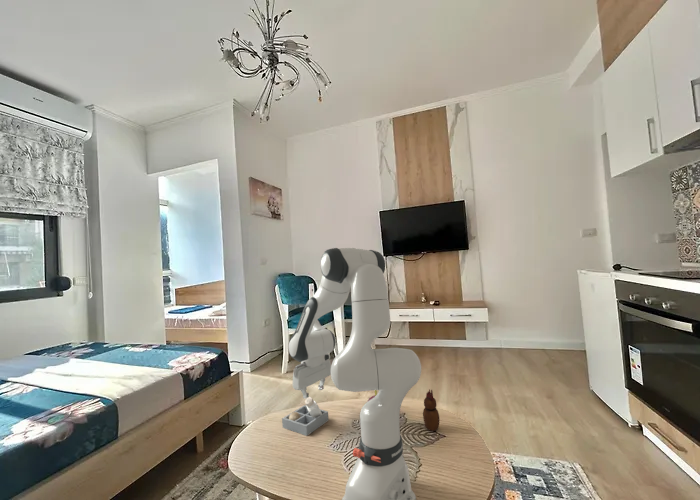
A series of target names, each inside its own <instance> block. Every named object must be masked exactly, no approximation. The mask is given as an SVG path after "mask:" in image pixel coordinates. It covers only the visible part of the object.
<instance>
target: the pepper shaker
mask: <svg viewBox="0 0 700 500" xmlns="http://www.w3.org/2000/svg"><path fill="white" fill-rule="evenodd" d="M304 405H306V406H307V409H308V412H309V413H310V415H311V416H312V417H316V418H317V417H318V416H320V415H321V414H322V413H321V410H322V409H321V408H320V406H319V405H318V403H317V402H316V400H314V399H313V397H311V396H309V397H308V398H306V399H305V400H304ZM320 409H321V410H320Z"/></svg>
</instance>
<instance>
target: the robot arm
mask: <svg viewBox="0 0 700 500" xmlns="http://www.w3.org/2000/svg"><path fill="white" fill-rule="evenodd" d="M319 265H320V272H321V274H322V276H321V277H320V278H321V279H320V283H319V286H318V288H317V290H316V291H315V292H314V294H313V296H312V297H310V298H309V299H308V300H307V302H306V303H305V306H304V307H303V310H302V313H301V315H300V318H299V320H298V323H297V326H296V328H295V330H294V332H293V334H292V335H291V337H290V339H289V341H288V346H287V347H288V348H287V349H288V353H289V356H290V357H291V359H294V360H295V361H296V362H298V363H300V364H296V366H295V367H294V369H293V374H292V388H293V389H294V390H295V391H300V392H301V394H302V398H303V399H305V400H306V399H307V398H308V397H310V395H309V392H307V391H306V390H307V388H308V387H309V386H311V385H313V384H316V383H317V382H318V383H319V384H318V386H317V387H318V391H323V390H324V388H325V386H324V385H325V383H326V378H328V377H329V376H330V378H331V380H332V383H333V384H334V386H335V388H336V389H337V390H340V391H344V392H353V393H358V392H369V391H375V390H376V391H377V395H376V396H375V397H374V398H372V399H371V400H369V401H368V402H367V401H366V402H365V404H364V405H362V407H361V410H360V412H359V425H360V437H359V438H360V439H359V443H358V448H357V447H354V448H353V451H352V456H353V457H357V459H356V462H355V463H354V466H353V468H352V471H351V472H350V475H349V478H348V479H347V481H346V485H345V489H344V491H345V492H344V495H343V496H342V499H341V500H417V496H416V494H415V492H414V491H413V490H412V485H411V478H410V472H409V466H408V464H407V462H406V460H405V458H404V455H403V452H404V448H403V447H404V444H403V443H404V442H403V438H402V435H401V430H400V429H401V428H400V427H401V425H400V421H401V420H400V418H401V417H400V415H401V413H400V412H401V407H402V403H403V401H404V399H405V397H406V395H407V394H408V392H409V391H410V390H411V389H412V388H413V387H414V386H415V385H417V383H418V382H419V380H420V378H421V375H422V364H421V360H420V358H419V356H418V354H416V352H415V351H414V350H413V349H409V348H404V347H403V348H402V347H387V348H375V349H374V348H372V344H373V342H374V340H375V339H378V338H379V337H382V335H384V334H385V333H386V332H387V331H389V329H390V326H391V323H392V322H391V312H390V311H391V309H390V302H389V293H388V287H387V282H386V279H385V271H386V261H385V258H384V256H383V254H382V253H381V252H379V251H377V250H374V249H369V250H368V249H362V248H361V249H360V248H355V247H344V248H338V247H333V248H329V249H325V251H324V252H323V254H322V256H321V257H320V264H319ZM350 292H351V293H350ZM349 295H351V297H350V298H351V315H352V316H351V317H352V320H351V321H352V322H351V323H352V324H351V332H350V336H349V339H348V341H347V343H346V344H345V346H344V348H343V349H342V350H341V351H340V352H339V353H338V354H337V355H336V356H335V357H334V358H333V360H332V362H331V360H330V359H331V354H330V353H332V352H333V351H334V350H335V348H336V342H337V341H336V336H335V334H334V333H333V332H332V331H331V330H330V329H327V328H325V327H324V326H323V325H321V323H320V321H319V320H318V319H320V318H321V317H323V316H324V315H327V314H329V313H331V312H333V311H335V310H338V309H339V308H341V307H342V306H343V305H344V304H345V303H346V302H347V300H348V298H349Z"/></svg>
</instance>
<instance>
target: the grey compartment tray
mask: <svg viewBox="0 0 700 500" xmlns="http://www.w3.org/2000/svg"><path fill="white" fill-rule="evenodd" d="M320 410H321V413H322V414H321V415H320V416H318V417H317V418H316V417H312V416H311V415H310V413H309V412H308V409H307V405H306V404H303V405H302V406H301V407H299V408H298V409H296V410H294V411H292V412H291V413H293V412H297V413H299V414H300V418H299V419H297V420H296V421H293V420H290V419H289V416H290V414H291V413H289V414H286V415H285V416H284V417H282V418H281V422H282V423H281V425H282V428H283V429H286V430H287V431H288V430H289V431H292V432H295V433H298V434H300V435H303V436H306V437H307V436H309V435H310V434H312V433H313V432H315V431H316V430H318V428H320V427H321V426H323V425H324V424H325V423H327V422H328V421H329V411H327V410H323V409H321V408H320Z"/></svg>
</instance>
